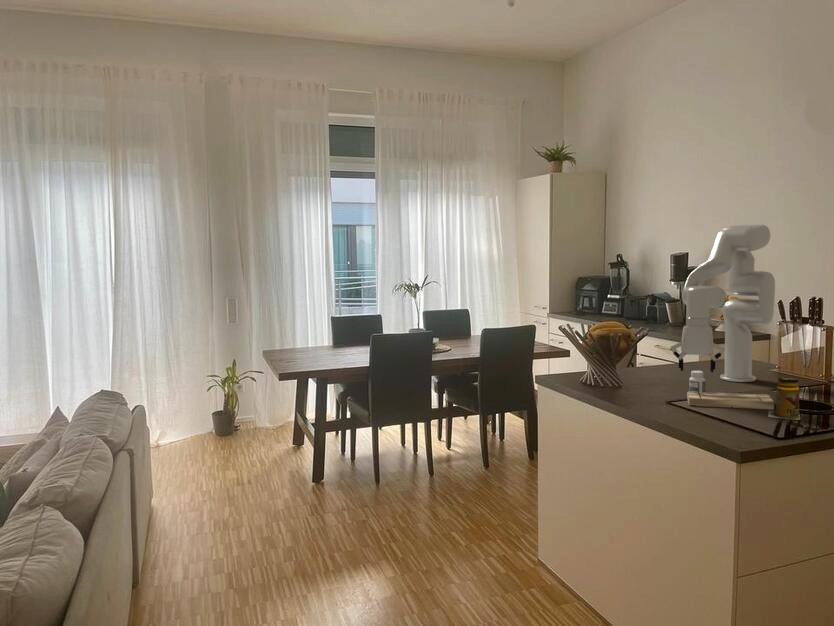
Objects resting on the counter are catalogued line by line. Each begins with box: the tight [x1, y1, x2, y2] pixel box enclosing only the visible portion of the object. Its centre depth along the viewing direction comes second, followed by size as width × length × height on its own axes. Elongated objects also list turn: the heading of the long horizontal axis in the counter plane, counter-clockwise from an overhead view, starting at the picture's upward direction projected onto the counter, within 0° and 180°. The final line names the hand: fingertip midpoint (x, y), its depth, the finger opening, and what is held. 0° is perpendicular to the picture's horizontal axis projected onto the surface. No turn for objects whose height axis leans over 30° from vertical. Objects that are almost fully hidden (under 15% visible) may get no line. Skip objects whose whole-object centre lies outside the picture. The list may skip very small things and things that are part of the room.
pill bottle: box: [688, 370, 707, 392], centre depth 222 cm, size 5×5×9 cm
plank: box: [686, 391, 775, 411], centre depth 211 cm, size 10×25×3 cm, turn 70°
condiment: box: [767, 376, 801, 421], centre depth 194 cm, size 7×8×12 cm
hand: (696, 371), depth 221 cm, fingers open, 9 cm apart
